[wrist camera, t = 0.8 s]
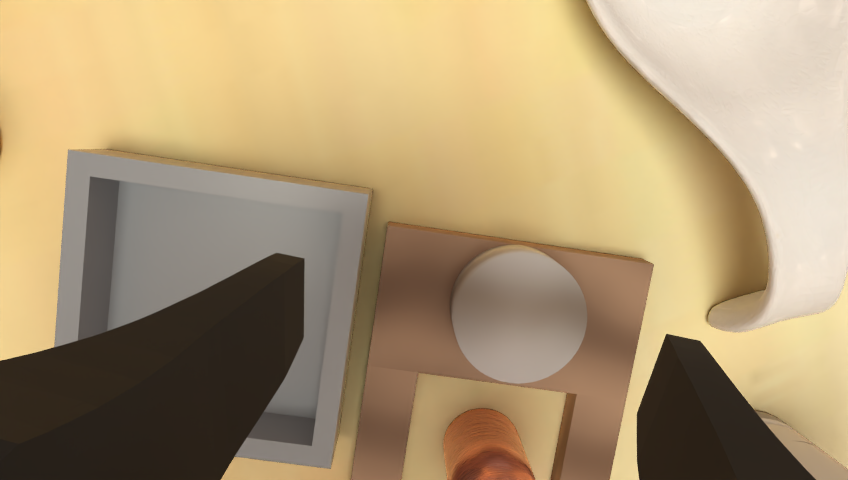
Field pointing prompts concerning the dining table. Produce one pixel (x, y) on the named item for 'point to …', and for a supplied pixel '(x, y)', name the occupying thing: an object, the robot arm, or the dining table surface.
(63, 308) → the tray
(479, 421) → the reddish brown cylinder
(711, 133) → the spoon rest
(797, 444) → the travel mug
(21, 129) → the dining table surface
